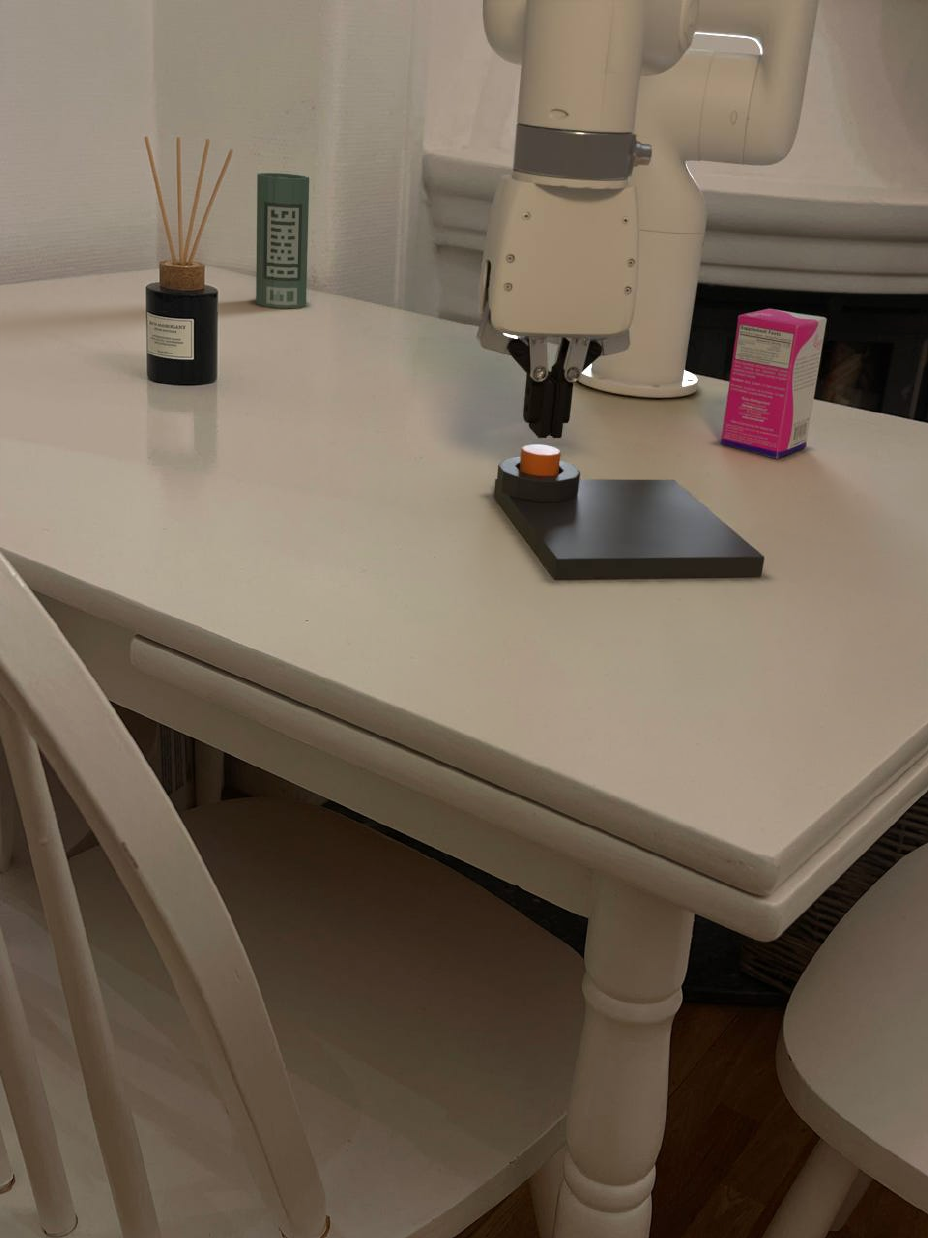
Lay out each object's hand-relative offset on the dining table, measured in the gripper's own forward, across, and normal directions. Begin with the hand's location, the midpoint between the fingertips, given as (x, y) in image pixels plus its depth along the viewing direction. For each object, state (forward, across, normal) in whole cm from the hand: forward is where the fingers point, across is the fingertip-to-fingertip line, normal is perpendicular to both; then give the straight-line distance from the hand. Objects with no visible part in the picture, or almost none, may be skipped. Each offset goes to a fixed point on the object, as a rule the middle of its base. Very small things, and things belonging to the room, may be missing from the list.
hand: (544, 432), depth 89 cm
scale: (+5, -4, +6) cm, 9 cm away
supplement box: (+6, -25, -16) cm, 30 cm away
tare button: (+3, 0, +1) cm, 3 cm away
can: (+7, +12, -76) cm, 77 cm away
